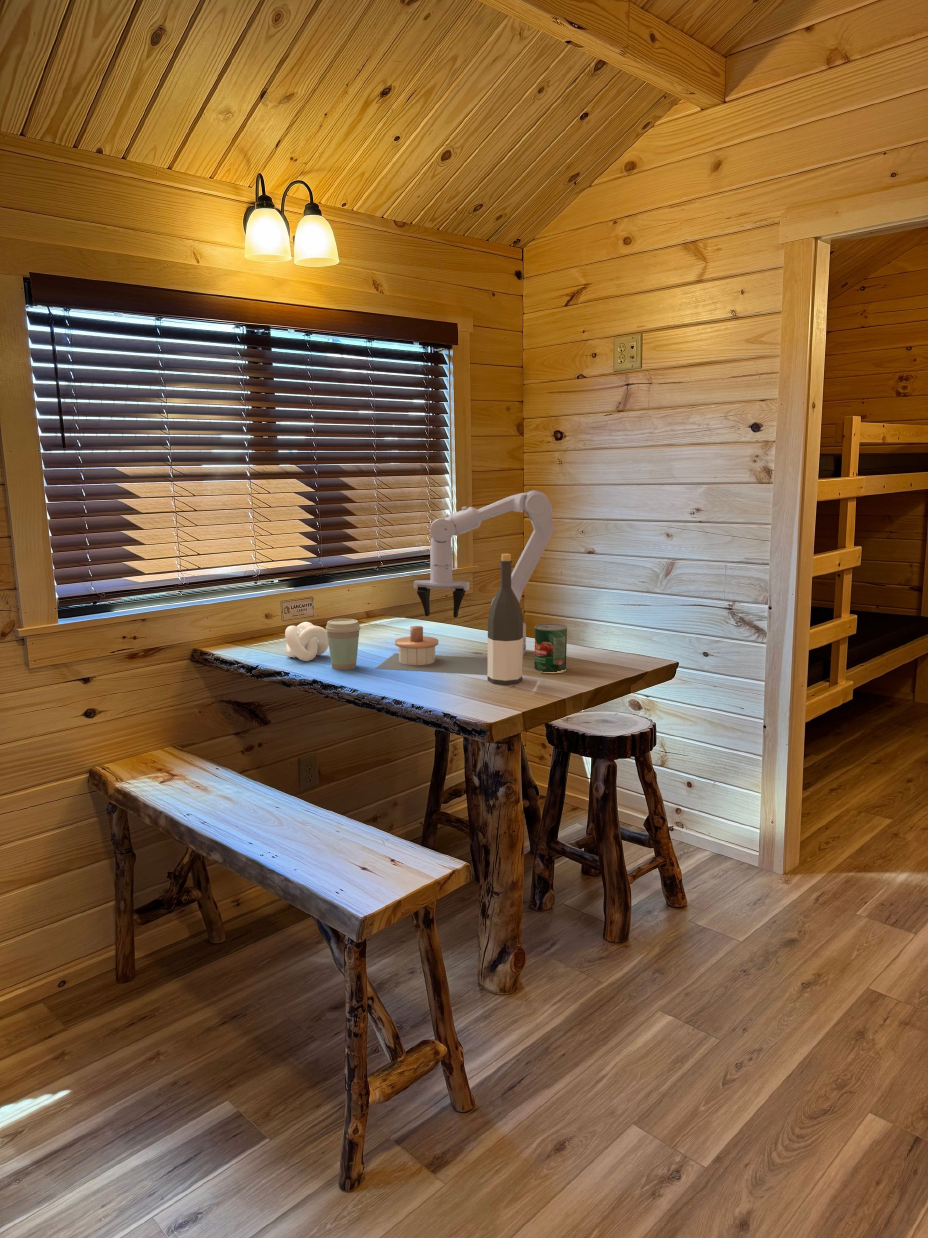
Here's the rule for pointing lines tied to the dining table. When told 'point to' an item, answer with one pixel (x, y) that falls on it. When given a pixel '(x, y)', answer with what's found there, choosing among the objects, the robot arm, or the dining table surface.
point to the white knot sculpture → (306, 641)
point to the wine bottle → (505, 632)
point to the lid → (416, 639)
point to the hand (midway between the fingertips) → (441, 616)
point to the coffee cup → (343, 642)
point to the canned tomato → (550, 647)
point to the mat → (441, 665)
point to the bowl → (417, 656)
